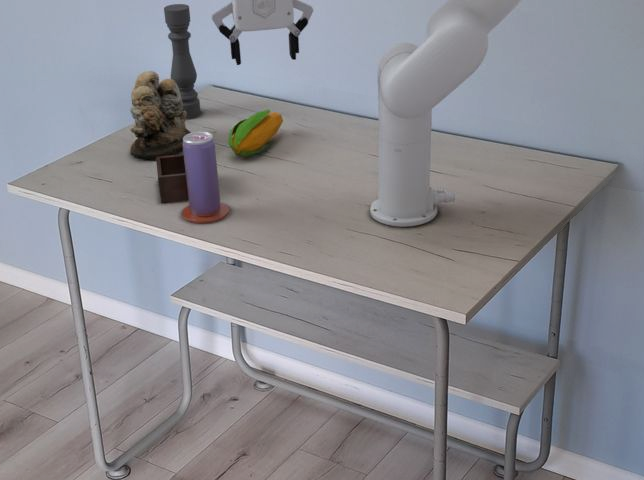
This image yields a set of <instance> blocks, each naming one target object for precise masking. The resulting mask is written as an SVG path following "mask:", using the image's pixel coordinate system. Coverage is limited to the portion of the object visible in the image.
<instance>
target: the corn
mask: <svg viewBox="0 0 644 480" xmlns="http://www.w3.org/2000/svg"><path fill="white" fill-rule="evenodd" d="M283 122H284V120H283V116H282V114H281V113H278V112H275V111H273V112H271V110H270V109H266V110H262V111H258V112H256V113H254V114H252V115H251V116H249V117H247V118H244V119H243V120H240V121H239V122H238V123H236V124H235V125H234V126H233V127H232V128H231V129H230V132H229V134H228V139H227V142H228V145H229V147H230V150H231V151H233V153H234V154H235V155H236V156H241V157H244V158H245V157H251V156H253V155H255V154H257V153H260V152H262V151H263V150H264V149H266V148H268V146H269V145H271V144H272V143H273V142H274V140H276V138H277V137H274V136H275V135H276V134H277V133H278V131H279V130H280V128H281V126H282V124H283ZM273 137H274V139H273Z"/></svg>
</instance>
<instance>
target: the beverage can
mask: <svg viewBox="0 0 644 480" xmlns="http://www.w3.org/2000/svg"><path fill="white" fill-rule="evenodd" d="M182 152H183V153H182V154H184V162H185V171H186V180H187V189H188V198H189V200H188V205H189V207H190V211H191V212H192V213H193V214H194V215H196V216H201V217H206V216H211V215H214V214H216V213H217V212H218V211H219V210H220V207H221V204H220V203H221V195H220V184H219V183H220V182H219V173H218V162H217V151H216V141H215V138H214V135H213V134H212V133H211V132H207V131H193V132H191V133H189V134H187V135H185V136H184V137H183V151H182Z"/></svg>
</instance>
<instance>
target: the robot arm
mask: <svg viewBox="0 0 644 480" xmlns="http://www.w3.org/2000/svg"><path fill="white" fill-rule="evenodd" d="M521 2H522V0H447V1H446V2H445V3H444V4H443V5H442V6H440V7H439V8H438V9H437V10H436V11H435V12H433V14H432V15H431V16H430V18H429V19H428V22H427V24H426V28H425V29H426V32H425V33H426V40H424V41H423V42H422V43H421V44H420V45H417V44H414V43H410V42H401V43H396V44H394V45H393V46H390V47H389V48H388V49H387V50H386V51H385V52H384V54H383V55H382V56H381V58H380V60H379V63H378V67H377V71H376V73H377V74H376V75H377V77H376V78H377V81H376V83H377V105H378V107H377V108H378V136H377V141H378V142H377V143H378V145H377V147H378V148H377V150H378V151H377V154H378V156H377V157H378V159H377V160H378V162H377V164H378V166H377V167H378V169H377V170H378V173H377V174H378V176H377V177H378V179H377V180H378V192H377V194H378V195H377V196H378V198H376V199H375V200H374V201H373V202H372V203H371V204H370V207H369V210H370V211H369V213H370V216H371V217H372V219H374V221H377V222H379V223H381V224H383V225H387V226H392V227H402V228H403V227H404V228H405V227H406V228H407V227H415V226H420V225H424V224H427V223H429V222H431V221H432V220H434V219H435V217H436V216H437V214H438V205H439V204H440V203H453V202H455V199H456V198H455V196H456V195H455V192H454V191H445V189H444V187H441V188H434V189H432V187H430V185H431V184H430V182H431V153H432V152H431V151H432V150H431V149H432V148H431V147H432V126H433V125H432V120H433V119H432V116H433V113H432V111H433V110H432V109H434V108H435V107H436V106H437V105H439V104H440V103H441V102H442V101H443V100H444V99H445V98H447V97H448V96H449V95H450V94H451V93H453V91H455V90H456V89H457V88H459V86H461V85H462V84H463V83H464V82H465V81H467V79H468V78H470V77H471V76H472V75H473V74H474V73H475V72H476V71H477V70H478V69H479V67H480V66H481V65H482V63H483V61H484V60H485V58H486V56H487V53H488V49H489V36H488V34H489V33H490V32H491V31H493V30H494V29H495V28H496V27H497V26H498V25H499V24H500V23H501V22H502V21H503V20H504V19H505V18H506V17H507V16H508V15H509V14H510V13H511V12H512V11H514V9H516V7H517V6H518V5H519V4H520V3H521ZM294 9H296V10H298V11H300V12H302V14H301V17H300V18H299V19H298V20H297V21H296V22H295V21H294V19H295V15H294V13H295V12H294ZM313 12H314V8H313V6H312V5H311V4H307V3H306V2H303V1H301V0H231V2H229V3H228V4H227V5H225V6H223V7H222V8H220V9H219V10H217V11H216V12H214V13H213V14H212V15H211V19H212V22H213V23H214V25H215V26H216V28H217V30H218V31H219V33H220V34H221V35H223V36H224V37H225V38H226V39H228V41H229V45H230V55H231V60H235V63H236V66H241V64H242V59H241V56H242V55H241V45H240V41H239V37H240V36H241V34H242V33H243V32H256V31H257V32H259V31H269V30H270V31H271V30H281V29H287V30H288V31H289V33H288V49H289V56H290V59H291V60H293V61H296V60H297V54H299V53H300V43H299V41H300V39H299V37H300V36H301V33H302V31H304V29H305V28H306V27H307V26H308V24H309V21H310V19H311V17H312V14H313ZM230 15H232V19H233V25H232V26H231V27H230V28H229V27H228V26H227V25H225V23H224V22H223V20H224V19H225V18H227V17H228V16H230Z"/></svg>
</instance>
